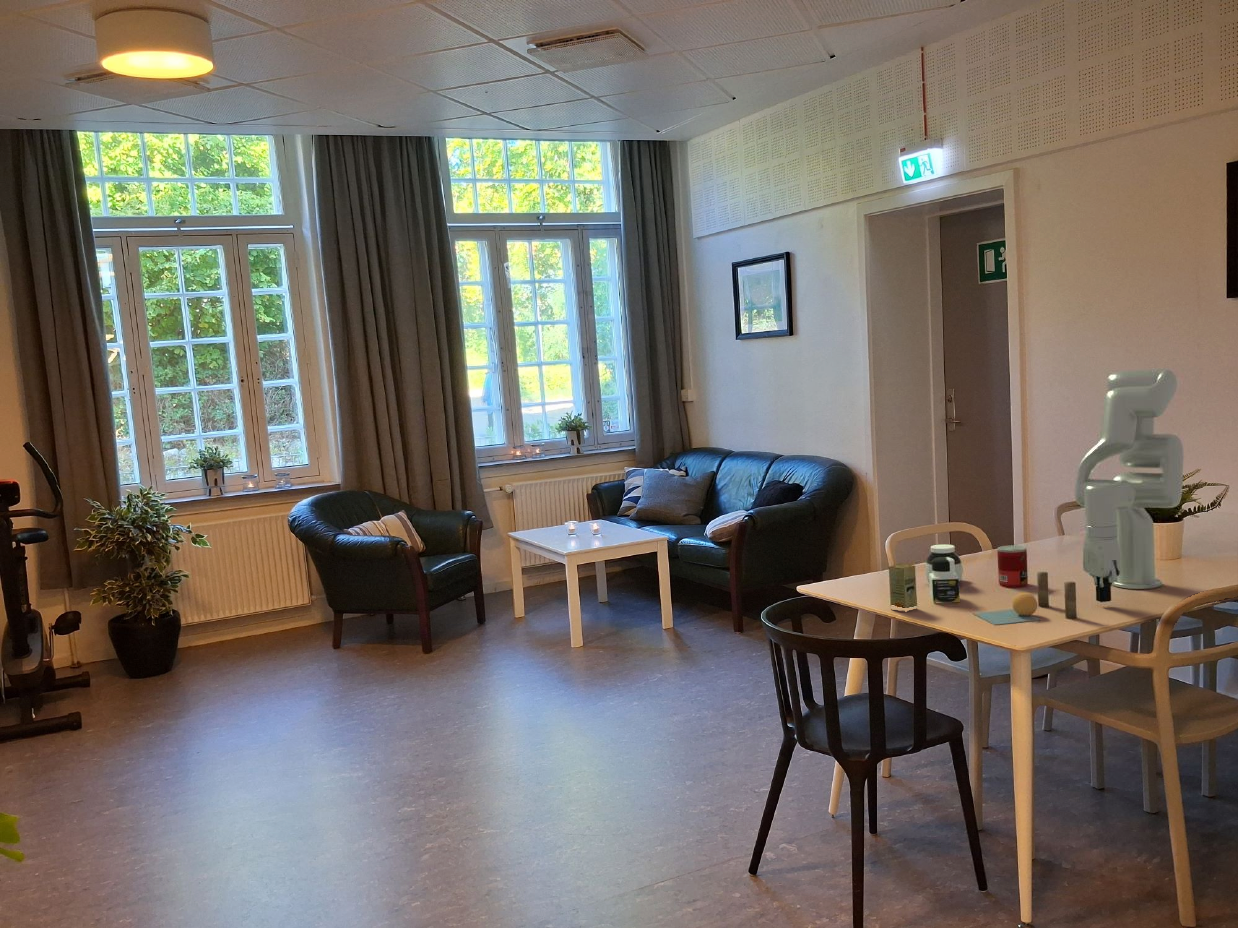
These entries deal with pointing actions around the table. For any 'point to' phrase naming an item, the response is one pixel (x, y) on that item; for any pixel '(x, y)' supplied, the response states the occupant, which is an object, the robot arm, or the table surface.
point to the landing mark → (1004, 617)
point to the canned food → (1012, 566)
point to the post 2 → (1070, 600)
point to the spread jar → (944, 552)
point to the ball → (1024, 604)
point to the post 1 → (1042, 589)
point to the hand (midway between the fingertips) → (1103, 600)
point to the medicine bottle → (944, 581)
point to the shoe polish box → (902, 585)
